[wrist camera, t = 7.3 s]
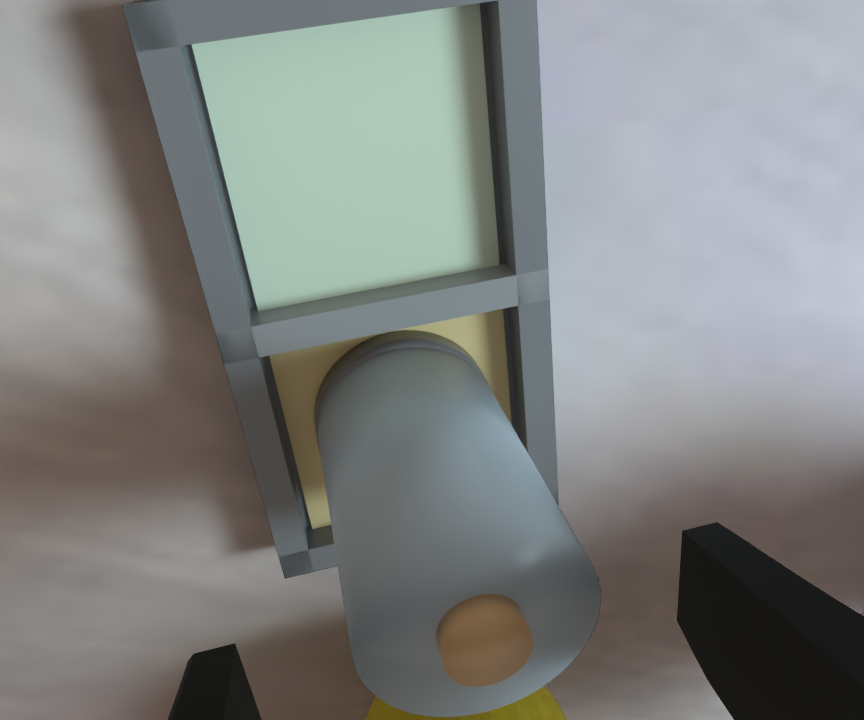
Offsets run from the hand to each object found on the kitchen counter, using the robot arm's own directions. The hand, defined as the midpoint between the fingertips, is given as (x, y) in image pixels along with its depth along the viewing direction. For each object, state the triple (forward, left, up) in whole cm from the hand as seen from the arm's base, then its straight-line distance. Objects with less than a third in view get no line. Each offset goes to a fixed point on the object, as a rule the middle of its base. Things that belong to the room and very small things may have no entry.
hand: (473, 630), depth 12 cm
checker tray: (0, -3, -7) cm, 8 cm away
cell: (0, 0, -6) cm, 7 cm away
